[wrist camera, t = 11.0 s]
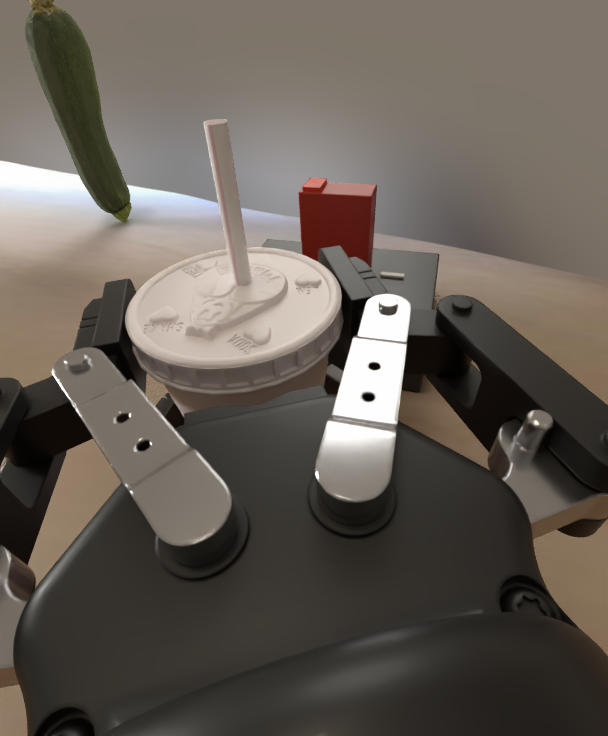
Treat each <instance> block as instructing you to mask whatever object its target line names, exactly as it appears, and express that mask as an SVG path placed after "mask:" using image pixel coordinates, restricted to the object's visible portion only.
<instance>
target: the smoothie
mask: <svg viewBox="0 0 608 736" xmlns="http://www.w3.org/2000/svg"><path fill="white" fill-rule="evenodd" d="M204 129H205V135H206V139H207V145H208V150H209V156H210V161H211V166H212V172H213V177H214V183H215V188H216V193H217V199H218V204H219V209H220V215H221V220H222V225H223V231H224V236H225V241H226V247H227V249H224V250H219V251H213V252H208V253H205V254H201V255H198V256H195V257H191V258H189V259H186V260H184V261H181V262H179V263H176V264H174V265H172V266H170V267H168V268H167V269H165V270H163V271H161V272H160V273H158V274H157V275H155V276H154V277H152V278H151V279H150V280H148V281H147V282H146V283H145V284H144V285H143V286H142V287H141V288H140V289H139V290H138V291H137V292H136V294H135V295H134V297H133V298H132V300H131V301H130V303H129V305H128V308H127V311H126V315H125V325H126V329H127V332H128V335H129V337H130V339H131V341H132V351H133V353H134V355H135V357H136V359H137V361H138V363H139V365H140V367H141V368H142V369H143V370H144V371H146V372H147V373H148V374H149V375H151V376H152V377H153V378H154V379H155V380H157V381H158V382H160V383H163V384H164V385H165V387H166V389H167V390H168V392H169V394H170V396H171V397H172V399H173V401H174V403H175V404H176V405H177V407H178V409H179V410H180V412H181V414H182V415H183V417H184V413H188V412H193V411H198V410H203V409H208V408H212V407H217V406H253V405H259V404H261V403H264V402H266V401H268V400H271V399H273V398H275V397H278V396H280V395H283V394H285V393H287V392H290V391H294V390H299V389H304V388H309V387H313V386H318V385H324V382H325V376H326V371H327V363H328V355H329V352H330V351H331V349H332V348H333V347H334V345H335V344H336V342H337V341H338V340H339V337H340V333H341V330H342V326H343V322H344V320H343V315H342V309H341V300H342V294H341V288H340V285H339V283H338V281H337V279H336V278H335V276H334V275H333V274H332V273H331V272H330V271H329V270H328V269H327V268H326V267H325V266H323V265H322V264H320V263H319V262H317V261H315V260H313V259H311V258H309V257H307V256H305V255H302V254H299V253H295V252H292V251H287V250H282V249H276V248H265V247H246V241H245V234H244V227H243V221H242V214H241V208H240V201H239V195H238V188H237V182H236V175H235V168H234V163H233V155H232V149H231V142H230V136H229V129H228V123H227V120H224V119H214V120H208V121H205V122H204Z"/></svg>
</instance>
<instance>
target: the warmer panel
mask: <svg viewBox="0 0 608 736" xmlns="http://www.w3.org/2000/svg"><path fill="white" fill-rule="evenodd" d="M262 247H265V248H276V249H282V250H287V251H292V252H295V253H299V254H302V242H295V241H283V240H271V239H268V240H267V241H266V242H265V243H264V245H263V246H262ZM438 262H439V254H435V253H423V252H412V251H400V250H388V249H377V248H373V253H372V266H371V269H372V271H373V272H374V273H375V275H376V277H377V278H378V279H379V280H380V282H381V283H382V284H383V286H384V287H385V288H386V290H387V291H388V292H389V294H394V295H398V296H401V297H403V298H405V299H406V300H407V301H408V302H409V303H410V305H411V308H412V309H421V310H433V304H434V296H435V287H436V279H437V270H438ZM347 357H348V354H347V352H346V350H345V348H344V346H343V344H342V342H341V340H340V338H339V340H338V341H337V342H336V344H335V345H334V347H333V348H332V349H331V351H330V352H329V355H328V362H329V363H330V364H334V365H335V366H337V367H338V368H340V369H342V370H343V371H344V368H345V365H346V361H347ZM422 378H423V374H403V381H402V389H405V390H411V391H417V392H419V391H420V388H421V383H422Z"/></svg>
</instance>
